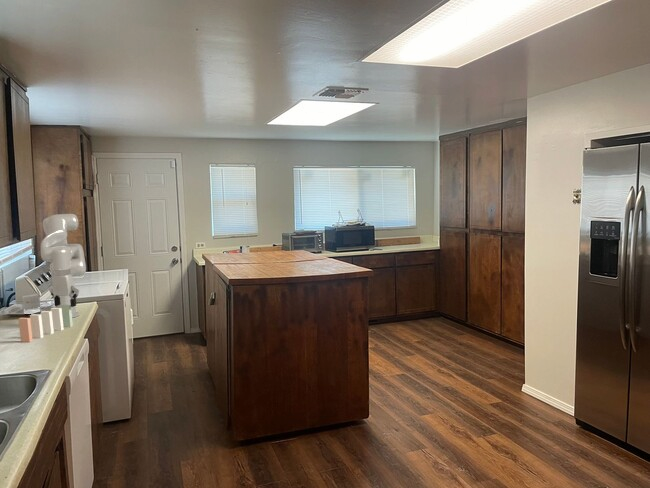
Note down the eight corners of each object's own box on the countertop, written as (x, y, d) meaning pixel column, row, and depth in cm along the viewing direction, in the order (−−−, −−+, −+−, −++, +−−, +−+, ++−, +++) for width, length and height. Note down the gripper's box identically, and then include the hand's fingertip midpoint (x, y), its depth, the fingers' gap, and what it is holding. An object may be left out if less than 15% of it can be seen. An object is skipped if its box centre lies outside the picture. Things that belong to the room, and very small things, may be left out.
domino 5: (64, 325, 248) (62, 304, 247) (72, 326, 247) (70, 305, 246) (62, 326, 247) (60, 305, 245) (70, 327, 245) (68, 305, 244)
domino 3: (45, 332, 236) (43, 310, 235) (53, 333, 235) (51, 311, 234) (42, 333, 235) (40, 311, 234) (51, 334, 233) (48, 312, 232)
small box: (38, 311, 283) (36, 293, 282) (41, 312, 279) (39, 294, 278) (22, 314, 277) (20, 296, 276) (25, 315, 273) (23, 297, 272)
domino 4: (55, 329, 242) (53, 307, 241) (63, 329, 241) (61, 308, 240) (52, 330, 241) (50, 308, 239) (61, 330, 239) (59, 308, 238)
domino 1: (23, 340, 224) (21, 317, 223) (32, 341, 223) (30, 318, 222) (21, 341, 223) (18, 318, 222) (29, 342, 222) (27, 318, 220)
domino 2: (34, 336, 230) (32, 314, 229) (43, 337, 229) (41, 314, 228) (32, 337, 229) (29, 315, 228) (40, 338, 228) (38, 315, 226)
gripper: (42, 273, 242) (45, 307, 245) (71, 274, 238) (74, 308, 241) (53, 270, 250) (57, 303, 252) (82, 271, 245) (85, 304, 248)
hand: (65, 305), depth 246 cm, fingers open, 9 cm apart
